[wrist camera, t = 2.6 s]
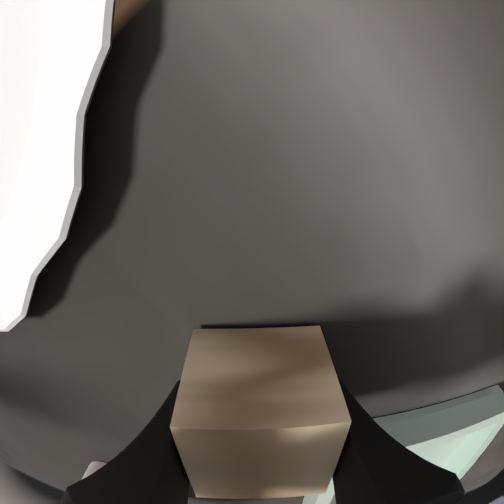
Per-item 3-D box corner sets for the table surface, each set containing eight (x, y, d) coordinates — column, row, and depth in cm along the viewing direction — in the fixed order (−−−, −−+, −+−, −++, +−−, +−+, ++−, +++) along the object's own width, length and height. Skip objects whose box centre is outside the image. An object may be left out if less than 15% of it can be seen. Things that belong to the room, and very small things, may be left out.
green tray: (497, 384, 15) (514, 406, 13) (434, 478, 19) (442, 497, 17) (322, 425, 15) (330, 461, 13) (300, 508, 19) (303, 532, 17)
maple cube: (319, 325, 12) (351, 421, 7) (309, 407, 14) (325, 492, 9) (193, 328, 12) (169, 427, 7) (206, 410, 14) (196, 497, 9)
